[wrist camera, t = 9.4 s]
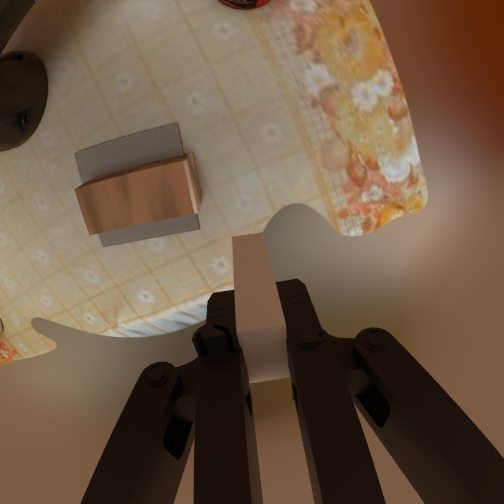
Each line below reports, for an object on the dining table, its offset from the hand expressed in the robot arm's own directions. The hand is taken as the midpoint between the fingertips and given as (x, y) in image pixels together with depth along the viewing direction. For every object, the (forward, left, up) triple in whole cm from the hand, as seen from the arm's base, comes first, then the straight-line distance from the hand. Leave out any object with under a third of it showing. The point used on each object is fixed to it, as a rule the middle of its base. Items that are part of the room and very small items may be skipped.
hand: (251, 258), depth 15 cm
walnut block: (-5, 0, -20) cm, 20 cm away
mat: (-14, 0, -23) cm, 27 cm away
